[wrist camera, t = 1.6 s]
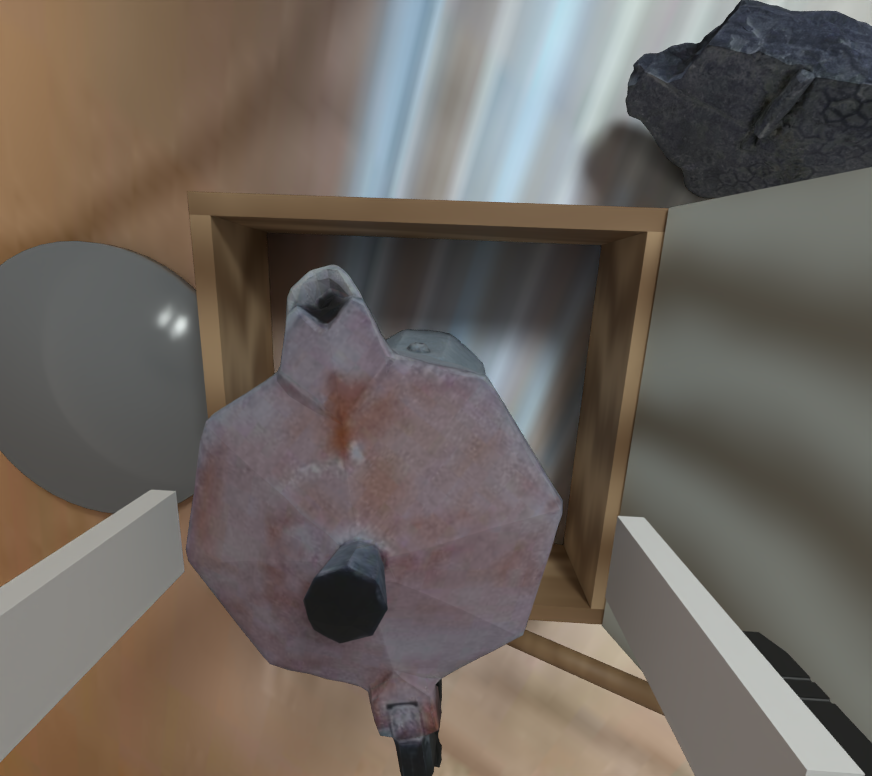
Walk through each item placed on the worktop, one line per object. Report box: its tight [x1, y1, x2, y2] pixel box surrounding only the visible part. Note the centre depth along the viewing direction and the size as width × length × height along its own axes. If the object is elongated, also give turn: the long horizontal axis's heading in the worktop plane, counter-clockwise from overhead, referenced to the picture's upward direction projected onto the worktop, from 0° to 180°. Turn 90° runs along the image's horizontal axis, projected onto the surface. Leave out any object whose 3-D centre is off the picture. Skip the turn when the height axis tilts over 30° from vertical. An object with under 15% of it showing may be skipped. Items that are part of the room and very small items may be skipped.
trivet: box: [0, 241, 208, 513], centre depth 27 cm, size 18×18×1 cm
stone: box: [626, 0, 872, 198], centre depth 18 cm, size 14×6×10 cm, turn 78°
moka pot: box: [186, 264, 563, 776], centre depth 17 cm, size 10×15×20 cm, turn 14°
